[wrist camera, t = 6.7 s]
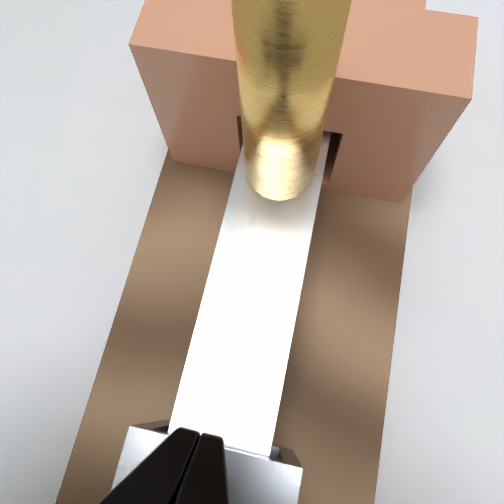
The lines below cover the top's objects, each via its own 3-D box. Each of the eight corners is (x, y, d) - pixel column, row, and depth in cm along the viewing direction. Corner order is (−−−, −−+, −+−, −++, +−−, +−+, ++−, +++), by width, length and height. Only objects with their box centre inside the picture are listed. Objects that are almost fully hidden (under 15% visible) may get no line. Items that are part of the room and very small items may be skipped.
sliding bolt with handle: (259, 492, 15) (247, 701, 5) (174, 471, 15) (-24, 620, 5) (327, 139, 19) (402, -175, 9) (259, 127, 20) (253, -191, 9)
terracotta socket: (400, 203, 19) (471, 98, 13) (173, 161, 20) (128, 44, 14) (413, 107, 21) (482, -32, 14) (201, 72, 22) (172, -73, 15)
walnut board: (318, 891, 13) (322, 929, 12) (-21, 778, 14) (-41, 804, 13) (415, 117, 22) (422, 104, 21) (197, 81, 23) (194, 67, 22)
